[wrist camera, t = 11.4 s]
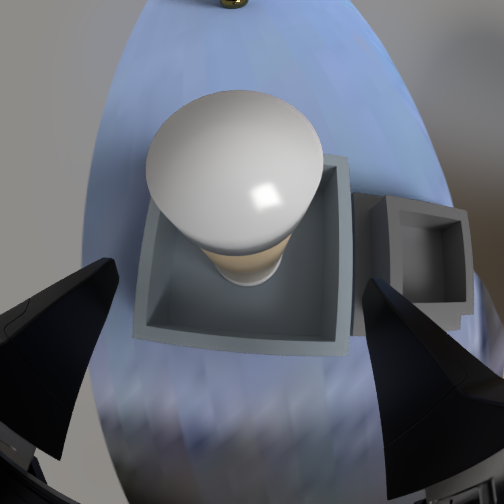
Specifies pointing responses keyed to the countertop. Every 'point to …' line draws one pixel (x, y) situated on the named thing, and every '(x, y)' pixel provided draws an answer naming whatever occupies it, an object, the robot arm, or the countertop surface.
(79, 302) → the robot arm
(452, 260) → the tray
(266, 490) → the countertop surface
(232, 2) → the cup
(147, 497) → the countertop surface
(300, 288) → the tray
